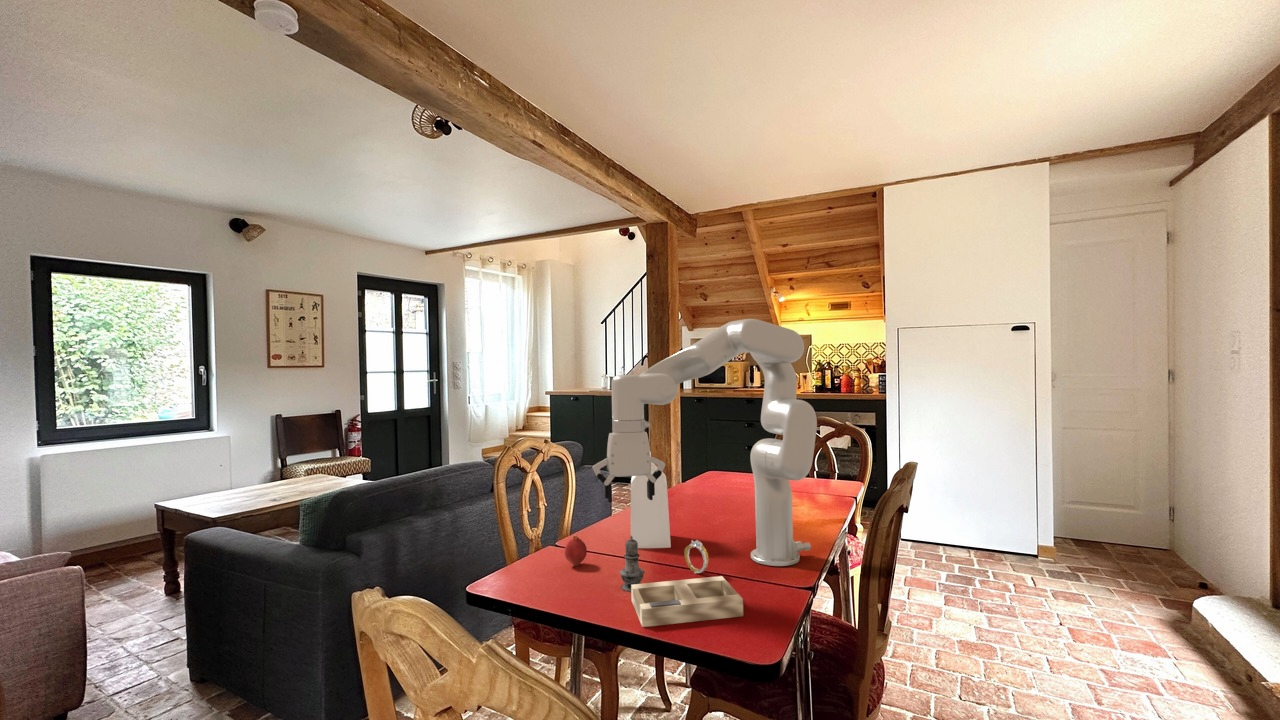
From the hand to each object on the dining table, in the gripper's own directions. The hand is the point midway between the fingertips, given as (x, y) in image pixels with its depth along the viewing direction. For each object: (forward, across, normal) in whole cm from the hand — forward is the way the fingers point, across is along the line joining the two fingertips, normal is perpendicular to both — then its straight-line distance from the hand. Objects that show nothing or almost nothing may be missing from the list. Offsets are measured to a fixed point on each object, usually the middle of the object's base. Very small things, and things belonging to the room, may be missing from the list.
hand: (629, 500), depth 131 cm
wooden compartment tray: (+20, -9, +14) cm, 26 cm away
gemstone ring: (+20, -17, -5) cm, 27 cm away
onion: (+20, +12, -18) cm, 30 cm away
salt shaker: (+20, 0, 0) cm, 21 cm away
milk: (+20, -11, -33) cm, 40 cm away
